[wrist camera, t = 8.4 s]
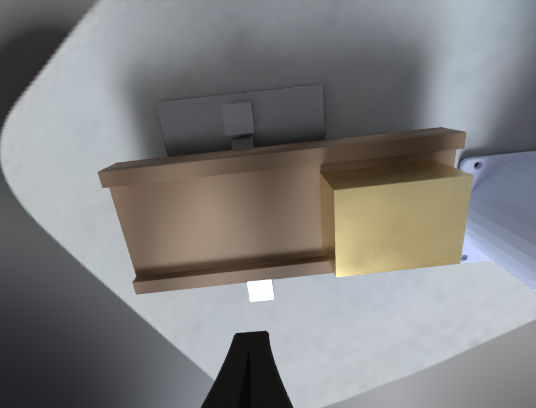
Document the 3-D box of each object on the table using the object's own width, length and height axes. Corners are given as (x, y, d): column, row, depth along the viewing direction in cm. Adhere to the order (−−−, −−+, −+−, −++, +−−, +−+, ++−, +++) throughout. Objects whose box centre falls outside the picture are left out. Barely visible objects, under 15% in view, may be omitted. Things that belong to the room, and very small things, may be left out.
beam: (436, 115, 17) (468, 119, 14) (423, 246, 20) (448, 268, 17) (118, 149, 17) (94, 160, 14) (153, 275, 20) (138, 302, 17)
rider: (433, 160, 15) (473, 174, 13) (426, 235, 17) (460, 263, 14) (319, 172, 15) (333, 190, 13) (322, 246, 17) (336, 277, 14)
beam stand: (321, 83, 18) (335, 82, 14) (327, 266, 23) (340, 299, 19) (158, 101, 18) (133, 103, 15) (197, 279, 23) (186, 313, 19)
